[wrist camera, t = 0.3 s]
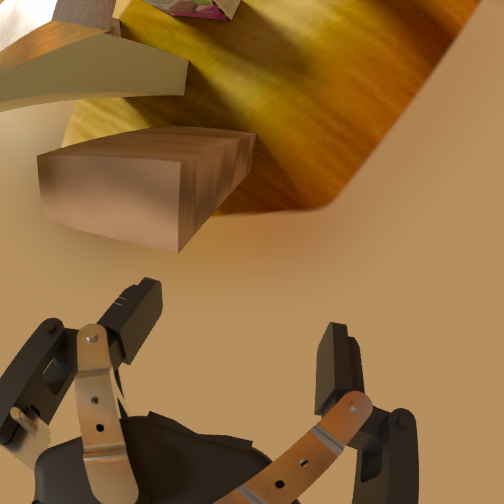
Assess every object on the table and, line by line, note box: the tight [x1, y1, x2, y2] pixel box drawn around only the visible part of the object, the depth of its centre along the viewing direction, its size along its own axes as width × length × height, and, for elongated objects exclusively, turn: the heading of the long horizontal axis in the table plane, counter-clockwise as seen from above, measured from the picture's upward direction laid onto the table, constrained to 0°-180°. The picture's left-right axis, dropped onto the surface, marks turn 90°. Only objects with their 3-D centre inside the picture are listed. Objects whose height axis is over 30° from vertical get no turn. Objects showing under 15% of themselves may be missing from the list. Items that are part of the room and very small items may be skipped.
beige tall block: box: [0, 33, 189, 112], centre depth 21 cm, size 6×12×32 cm, turn 82°
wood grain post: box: [37, 125, 256, 254], centre depth 28 cm, size 6×14×26 cm, turn 82°
